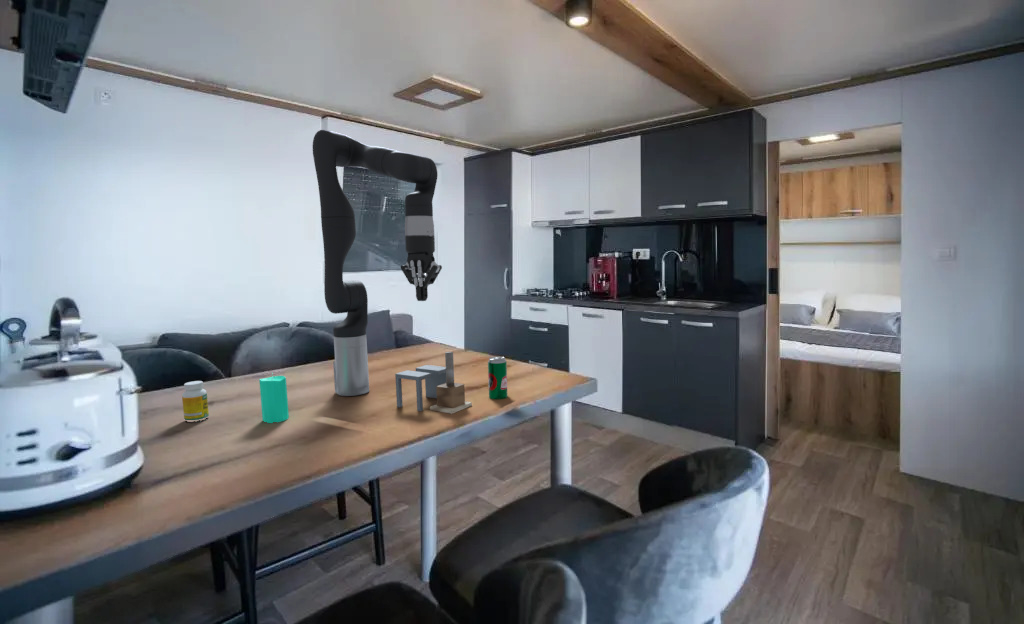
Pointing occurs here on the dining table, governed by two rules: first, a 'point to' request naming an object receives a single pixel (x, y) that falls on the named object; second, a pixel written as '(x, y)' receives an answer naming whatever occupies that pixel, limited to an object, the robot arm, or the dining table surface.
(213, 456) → the dining table surface
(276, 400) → the candle
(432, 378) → the grey table frame
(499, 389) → the soda can
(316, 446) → the dining table surface
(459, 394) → the stepped block tower
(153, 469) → the dining table surface
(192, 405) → the supplement bottle
